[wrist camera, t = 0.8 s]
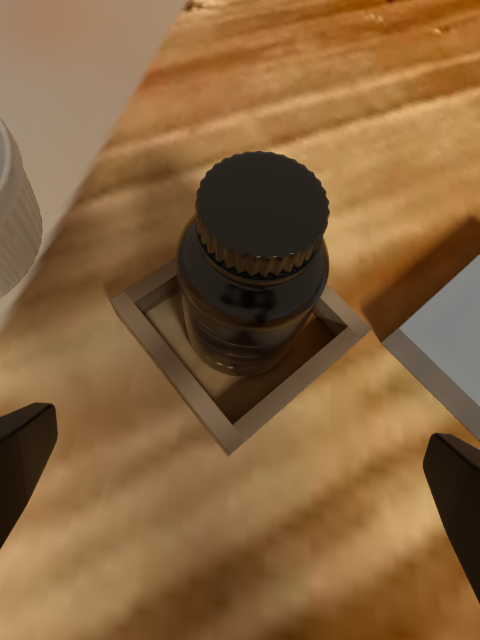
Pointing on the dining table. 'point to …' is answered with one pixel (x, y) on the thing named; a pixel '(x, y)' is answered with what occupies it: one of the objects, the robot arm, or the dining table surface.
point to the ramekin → (16, 216)
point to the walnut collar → (225, 434)
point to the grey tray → (447, 345)
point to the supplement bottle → (252, 261)
